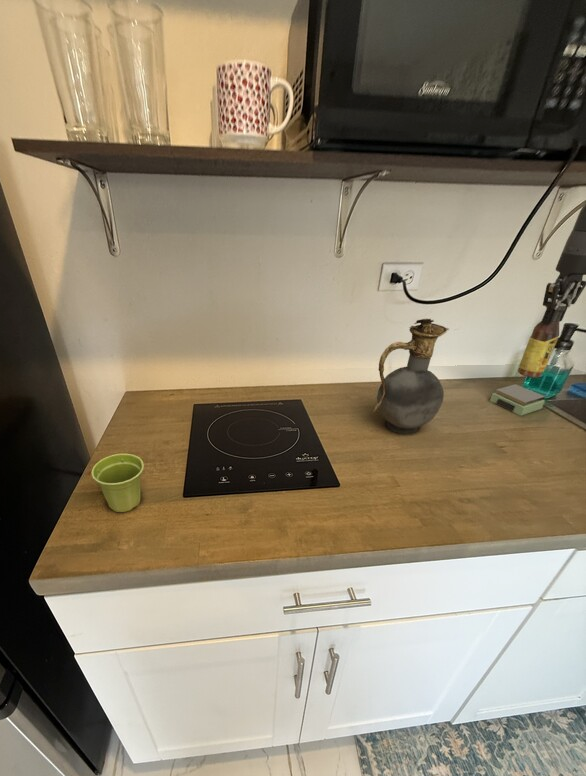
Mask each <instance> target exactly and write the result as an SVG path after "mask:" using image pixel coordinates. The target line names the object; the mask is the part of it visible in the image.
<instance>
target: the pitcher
mask: <svg viewBox="0 0 586 776" xmlns="http://www.w3.org/2000/svg"><path fill="white" fill-rule="evenodd" d="M433 322H435V320H433V319H432V318H422V319H417V320H416V321H415V322H413V324H414V325H411V326H409V327H408V328H409V329H408V330H409V332H410V333H411V340H410V341H408V342H403V341H395V342H392V343H391V344H389V345H388V346H387V347H386V348H385V349H384V351H383V352H382V354H381V356H380V358H379V362H378V373H379V378H380V381H381V384H380V386H379V387H378V389H377V390H378V391H377V394H376V395H377V396H376V401H377V404H375V406H374V408H373V411H372V412H373V413H375V412H376V411H377V410H379V412H380V413H381V416H382V417H383V419H385V420H386V421H387V423H386V424H387V425H386V426H387V428H388V429H389V430H390V431H391V432H394V433H397V434H400V435H411V434H414V433H416V432H417V431H418V428H420V427H422V426H424V425H426V424H428V423H430V422H431V421H432V420H434V418H435V417H436V416H437V414H438V412H439V411H440V409H441V407H442V405H443V402H444V397H445V396H444V395H445V394H444V393H445V392H444V388H443V385H442V383H441V381H440V379H439V378H438V377H437V376H436V375H435V373H433V372H432V371H430V370H429V366H430V363H431V358H432V357H433V354H434V349H435V348H434V347H435V344H436V342H437V340H438V338H439V337H441V336H444V335H445V334H446V333H447V331H449V330H450V328H449V327H446V326H444V325H440V324H437V323H433ZM396 350H404V351H408V353H409V356H408V360H407V364H406V366H402V367H398V368H396V369H394V370H393V371H391V372H390V373H388V374H387V375H386V376H384V371H385V362H386V360H387V357H388V356H389V355H390V353H392V352H393V351H396Z"/></svg>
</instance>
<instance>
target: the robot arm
mask: <svg viewBox="0 0 586 776" xmlns="http://www.w3.org/2000/svg"><path fill="white" fill-rule="evenodd" d="M555 271H556V272H558V273H559V274H558V275H557V278H556V279H555V282H553V283H552V282H548V283H547V284H546V287H545V291H544V297H543V301H542V306H544V307H545V308H547V309H545V311H544V314H543V316H542V319H541V321H542V322H543V323H547V324H550V323H552V320H553V318H554V316H555V313H556V311H557V310H556V309H557V308H558V307H559V305H560V303H563V304H566V308H565V310H564V311H563V313H562V316H561V318H560V321H559V323H560V322H563V320H564V317H565V314H566V313H567V310H568V309H569V308H570V307H571V305H575V304H576V302H577V301H578V299H579V297H580V296H581V295H582V293H583V291H584V290H585V288H586V280H583V277H584V276H586V202H585V203H584V204H583V205H582V207H581V209H580V211H579V213H578V215H577V217H576V219H575V222H574V225H573V227H572V230H571V232H570V233H569V236H568V238H567V239H566V242H565V243H564V246H563V249H562V251H561V254H560V257H559V258H558V261H557V264H556V267H555Z"/></svg>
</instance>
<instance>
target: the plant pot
mask: <svg viewBox="0 0 586 776" xmlns="http://www.w3.org/2000/svg"><path fill="white" fill-rule="evenodd" d="M144 467H145V465H144V461H143V460H142V458H141V457H139V456H138V455H136V454H132V453H116V454H112V455H108V456H106V457H104V458H102V459H100V460H98V462H96V463H95V464H94V466H93V467H92V469H91V477H92V478H93V480H94V481H95V482H96V483H97V484H98V486H99V488H100V490H101V491H102V493H103V496H104V498H105V500H106V503H107V505H108V507H109V508H110V509H111V510H112V511H114V512H117V513H126V512H130V511H131V510H133V509H134V508H136V507H138V506H139V505H140V503H141V494H142V493H141V492H142V491H141V489H142V488H141V487H142V486H141V485H142V484H141V483H142V481H141V480H142V474H143V471H144V469H145V468H144Z"/></svg>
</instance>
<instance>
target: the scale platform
mask: <svg viewBox="0 0 586 776" xmlns="http://www.w3.org/2000/svg"><path fill="white" fill-rule="evenodd" d="M494 393H498V394H500V395H502V396H504V397H506V398H509V399H511V400H513V401H515V402H518V403H520V404H522V405H527V404H531V403H534V402H537V401H540V400H545V397H546V396H545V395H543V394H540V393H538V392H536V391H532V390H530V389H528V388H525V387H523V386H521V385H519V384H516V383H514V384H511V385H508V386H504V387H500V388H496V389H495V391H494Z"/></svg>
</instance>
